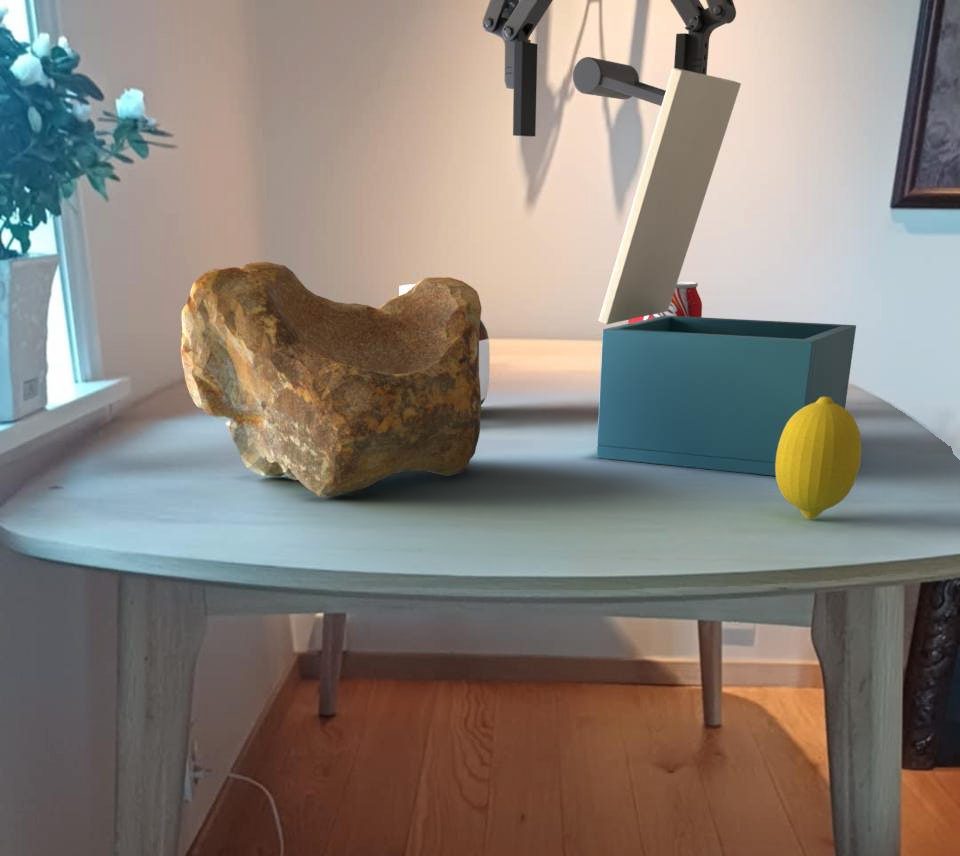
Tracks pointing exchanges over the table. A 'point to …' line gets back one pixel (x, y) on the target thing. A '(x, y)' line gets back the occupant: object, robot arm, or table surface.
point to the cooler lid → (662, 179)
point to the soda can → (680, 303)
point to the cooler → (714, 388)
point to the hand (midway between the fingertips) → (600, 135)
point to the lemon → (818, 457)
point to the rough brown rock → (335, 376)
